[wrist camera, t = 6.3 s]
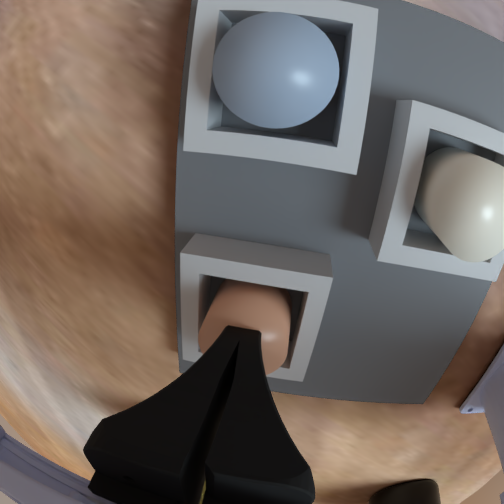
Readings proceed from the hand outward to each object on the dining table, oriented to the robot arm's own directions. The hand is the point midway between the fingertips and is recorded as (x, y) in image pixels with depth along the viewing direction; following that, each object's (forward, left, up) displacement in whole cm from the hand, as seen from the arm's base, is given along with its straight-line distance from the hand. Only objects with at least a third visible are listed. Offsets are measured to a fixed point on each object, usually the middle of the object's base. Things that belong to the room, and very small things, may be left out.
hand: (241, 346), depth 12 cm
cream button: (-7, -7, -3) cm, 11 cm away
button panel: (-4, -4, -5) cm, 7 cm away
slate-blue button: (0, -10, -3) cm, 10 cm away
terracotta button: (0, 0, -3) cm, 3 cm away
